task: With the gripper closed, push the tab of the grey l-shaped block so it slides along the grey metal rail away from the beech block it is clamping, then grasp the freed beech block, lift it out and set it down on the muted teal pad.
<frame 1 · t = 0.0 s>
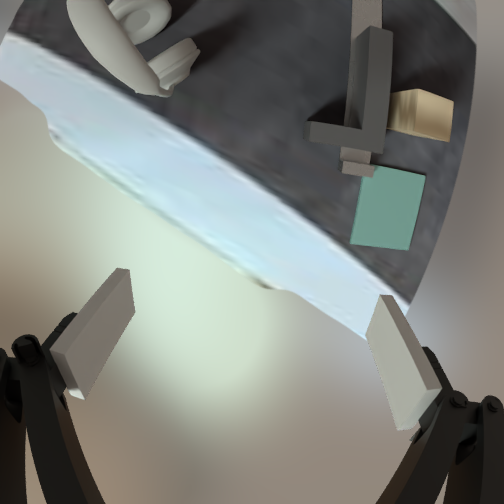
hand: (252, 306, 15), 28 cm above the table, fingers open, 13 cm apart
rail: (365, 52, 31), on the table
grey l-shaped block: (347, 84, 31), point 3 cm above the table, slide at 0.0 cm
pad: (388, 208, 40), on the table
headphones: (163, 50, 33), on the table
beech block: (399, 114, 35), on the table
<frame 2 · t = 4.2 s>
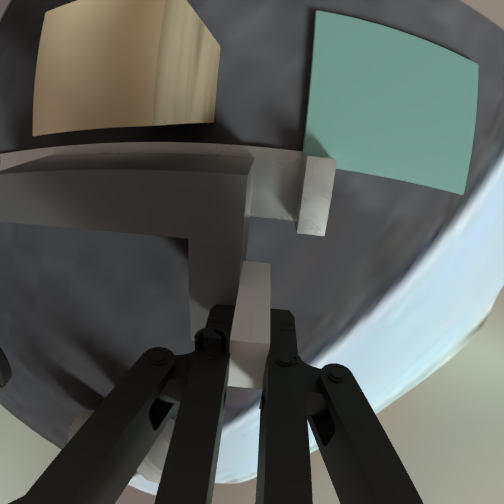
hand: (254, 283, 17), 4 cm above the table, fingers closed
rail: (73, 174, 18), on the table
grey l-shaped block: (112, 234, 17), point 3 cm above the table, slide at 0.8 cm, touching gripper
pad: (400, 103, 15), on the table
headphones: (140, 412, 30), on the table
beech block: (177, 83, 16), on the table
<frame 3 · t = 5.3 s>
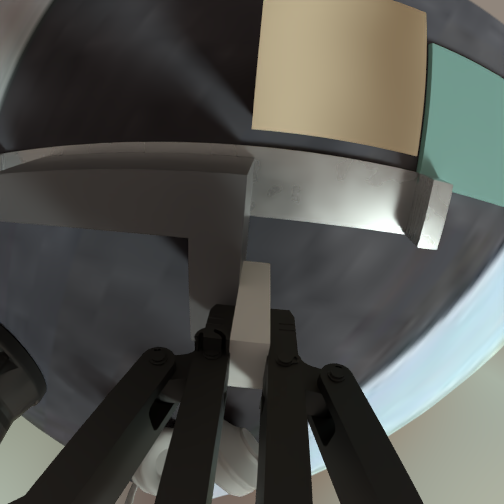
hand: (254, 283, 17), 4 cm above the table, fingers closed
rail: (170, 175, 18), on the table
grey l-shaped block: (112, 234, 17), point 3 cm above the table, slide at 8.7 cm, touching gripper
pad: (487, 134, 15), on the table
headphones: (204, 424, 30), on the table
beech block: (306, 91, 16), on the table
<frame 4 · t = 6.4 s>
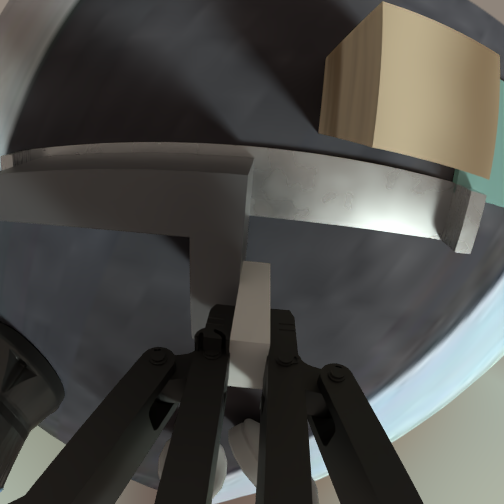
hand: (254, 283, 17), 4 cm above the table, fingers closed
rail: (224, 178, 18), on the table
grey l-shaped block: (113, 233, 17), point 3 cm above the table, slide at 12.2 cm, touching gripper
headphones: (234, 427, 30), on the table
beech block: (361, 102, 16), on the table
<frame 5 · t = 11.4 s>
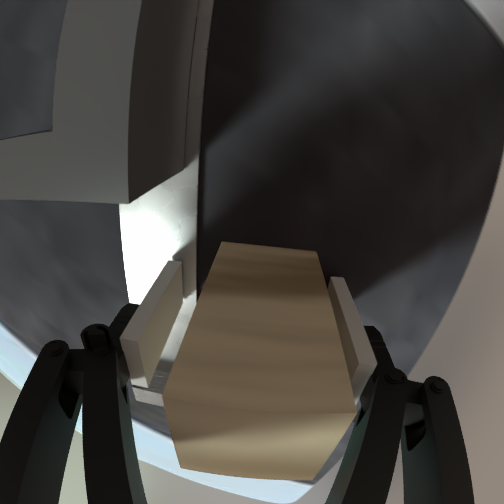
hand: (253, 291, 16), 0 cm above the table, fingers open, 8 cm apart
rail: (158, 133, 13), on the table
grey l-shaped block: (83, 11, 8), point 3 cm above the table, slide at 12.2 cm
beech block: (264, 287, 17), on the table
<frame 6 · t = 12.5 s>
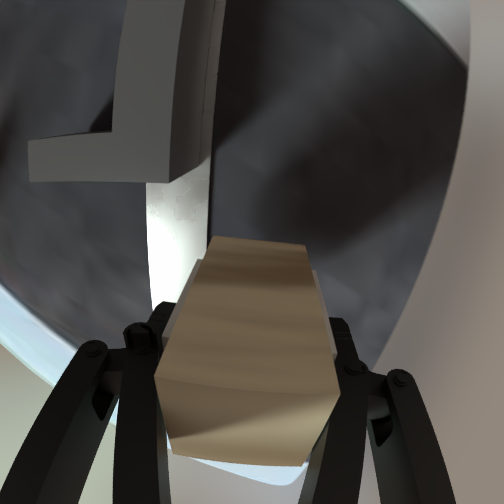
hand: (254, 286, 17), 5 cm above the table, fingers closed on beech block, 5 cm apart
rail: (179, 137, 18), on the table
grey l-shaped block: (123, 40, 12), point 3 cm above the table, slide at 12.2 cm
beech block: (254, 280, 17), point 4 cm above the table, touching gripper
when the fingers open (2 cm above the table, at t = 16.8 s): beech block stays where it is, resting on pad.
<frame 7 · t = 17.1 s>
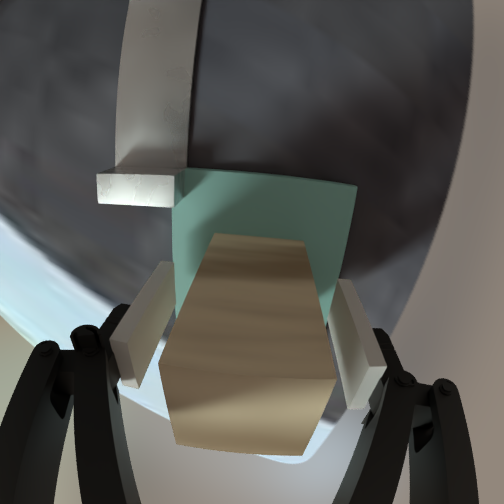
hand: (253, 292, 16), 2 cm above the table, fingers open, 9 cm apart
pad: (255, 271, 18), on the table
beech block: (255, 275, 18), point 1 cm above the table, touching pad
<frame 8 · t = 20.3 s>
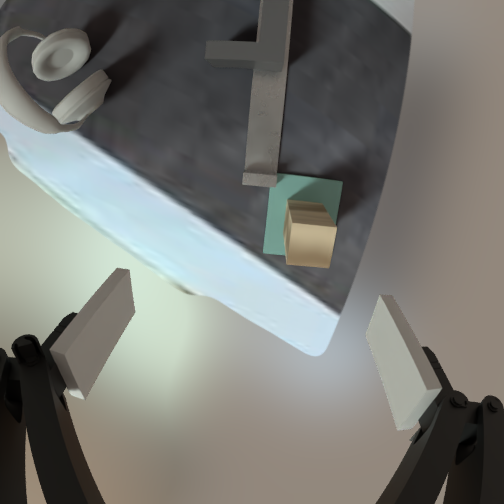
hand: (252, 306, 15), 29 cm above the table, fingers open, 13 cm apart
rail: (271, 59, 33), on the table
grey l-shaped block: (251, 10, 28), point 3 cm above the table, slide at 12.2 cm
pad: (301, 217, 43), on the table
headphones: (89, 79, 35), on the table
beech block: (302, 218, 42), point 1 cm above the table, touching pad
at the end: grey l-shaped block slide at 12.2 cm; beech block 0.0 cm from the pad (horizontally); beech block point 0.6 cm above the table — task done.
